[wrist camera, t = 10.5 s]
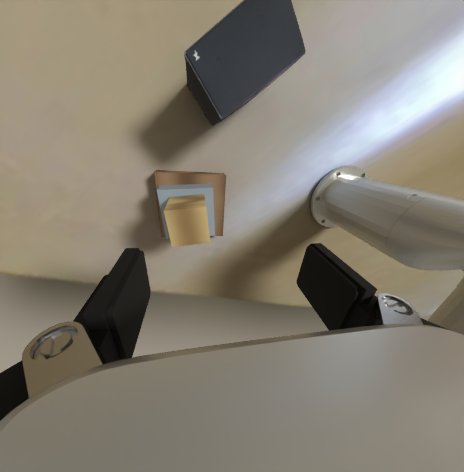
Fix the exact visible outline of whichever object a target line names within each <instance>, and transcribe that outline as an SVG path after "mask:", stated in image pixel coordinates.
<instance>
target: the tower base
mask: <svg viewBox="0 0 464 472" xmlns="http://www.w3.org/2000/svg"><path fill="white" fill-rule="evenodd" d="M154 176H155V185H156V193H157V189H158V188H159V186H160V185H187V184H212V187H213V199H214V220H215V235H214V236H223V221H224V203H225V184H226V175H225V174H224V173H206V172H186V171H165V170H156V171H155V172H154ZM157 202H158V210H159V218H160V227H161V235H162V237H166V236H165V231H164V226H163V220H162V215H161V210H160V205H159V200H158V194H157Z"/></svg>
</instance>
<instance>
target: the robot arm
mask: <svg viewBox="0 0 464 472" xmlns="http://www.w3.org/2000/svg"><path fill="white" fill-rule="evenodd" d="M311 213H312V216H313V218H314V219H315V220H316V221H317V222H318V223H319V224H321V225H323V226H325V227H329V228H334V227H341V228H342V229H344V230H346V231H347V232H349V233H351V234H352V235H354V236H356V237H358V238H359V239H361V240H363V241H364V242H366V243H368V244H369V245H371V246H373V247H374V248H376V249H378V250H379V251H381V252H383V253H385V254H386V255H388V256H389V257H391V258H393V259H395V260H396V261H398V262H400V263H402V264H404V265H406V266H409V267H412V268H415V269H420V270H456V269H460V270H463V271H464V199H461V198H457V197H452V196H447V195H442V194H437V193H433V192H428V191H423V190H419V189H414V188H409V187H405V186H400V185H395V184H391V183H386V182H382V181H377V180H372V179H370V178H369V176H368V174H367V172H365V171H364V170H363V169H361V168H359V167H355V166H343V167H339V168H337V169H335V170H333V171H331V172H330V173H328V174H327V175H326V176H325V177H324V178H323V179H322V180H321V181H320V182H319V184H318V185H317V187H316V188H315V190H314V193H313V195H312V198H311ZM297 285H298V287H299V288H300V290H301V291H302V293H303V294H304V295H305V297H306V298H307V300H308V301H309V302H310V304H311V305H312V307H313V308H314V310H315V311H316V312H317V314H318V315H319V317H320V318H321V319H322V321H323V322H324V324H325V325H326V327H327V328H328V329H329V331H323V332H314V333H307V334H299V335H290V336H282V337H274V338H267V339H259V340H251V341H244V342H236V343H229V344H222V345H214V346H207V347H199V348H192V349H185V350H178V351H171V352H165V353H158V354H152V355H144V356H139V357H135V358H132V355H133V352H134V349H135V345H136V342H137V338H138V335H139V332H140V328H141V325H142V321H143V318H144V315H145V312H146V308H147V305H148V301H149V298H150V286H149V280H148V274H147V268H146V263H145V257H144V252H143V251H140V250H139V248H126V249H125V250H124V252H123V253H122V255H121V256H120V258H119V259H118V261H117V262H116V264H115V265H114V267H113V268H112V270H111V271H110V273H109V274H108V275H106V276H104V277H103V278H102V280H101V281H100V283H99V284H98V286H97V287H96V289H95V290H94V292H93V293H92V294H91V296H90V298H89V299H88V300H87V302H86V303H85V305H84V306H83V308H82V309H81V311H80V312H79V314H78V315H77V316H76V318H75V319H74V321H73V322H64V323H60V324H57V325H55V326H52V327H50V328H48V329H47V330H45V331H43V332H41V333H40V334H39V335H38V336H36V337H35V338H34V339H33V340H32V341H31V342H30V343H29V344H28V345H27V346H26V348H25V350H24V352H23V355H22V361H21V362H19V363H17V364H15V365H13V366H12V367H10V368H8V369H7V370H5V371H3V372H2V373H0V472H464V277H463V279H462V280H461V281H460V283H459V284H458V285H457V287H456V289H455V290H454V291H453V292H452V293H451V294H450V295H449V296H448V297H447V299H446V300H445V301H444V302H443V303H442V304H441V305H440V306H439V307H438V309H437V310H436V311H435V312H434V313H433V314H432V316H431V317H430V318H429V319H428V321H426V320H424V319H422V318H420V316H419V314H418V312H417V311H416V309H415V308H414V307H413V306H412V305H411V304H410V303H408V302H407V301H405V300H403V299H402V298H400V297H397V296H395V295H392V294H387V293H382V294H379V295H378V297H376V296H375V295H374V294H375V292H376V291H377V289H376V288H375V287H374V286H373V285H371V284H370V283H369V282H368V281H366V280H365V279H364V278H363V277H362V276H360V275H359V274H358V273H357V272H355V271H354V270H353V269H352V268H351V267H349V266H348V265H347V264H346V263H344V262H343V261H342V260H341V259H340V258H338V257H337V256H336V255H335V254H333V253H332V252H331V251H330V250H328V249H327V248H326V247H325V246H324V245H322V244H321V243H315V244H310V245H309V246H308V247H307V248H306V252H305V255H304V258H303V262H302V265H301V268H300V272H299V275H298V278H297Z"/></svg>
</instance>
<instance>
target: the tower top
mask: <svg viewBox="0 0 464 472" xmlns="http://www.w3.org/2000/svg"><path fill="white" fill-rule="evenodd" d="M157 194H158V200H159V205H160V210H161V215H162V220H163V226H164V231H165V236H166V239H170V236H169V232H168V227H167V223H166V219H165V214H164V209H165V207H166V205H167V202H168V200H169V198H170V197H176V196H187V195H199V194H204V196H205V202H206V208H207V217H208V225H209V234H210V236H214V235H215V220H214V199H213V187H212V184H187V185H160V186H159V188H158V189H157Z"/></svg>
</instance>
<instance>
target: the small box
mask: <svg viewBox="0 0 464 472" xmlns="http://www.w3.org/2000/svg"><path fill="white" fill-rule="evenodd" d="M304 54H305V47H304V43H303V39H302V36H301V32H300V29H299V25H298V22H297V18H296V15H295V12H294V9H293V5H292V2H291V0H243V1H242V2H241V3H240V4H239V5H237V6H236V7H235V8H234V9H233V10H232V11H231V12H229V13H228V14H227V15H226V16H225V17H224V18H223V19H222V20H220V21H219V22H218V23H217V24H216V25H215V26H213V27H212V28H211V29H210V30H209V31H208V32H207V33H205V34H204V35H203V36H202V37H201V38H200V39H199V40H198V41H196V42H195V43H194V44H193V45H192V46H191V47H189V48H188V49H187V50H186V51H185V55H184V56H185V60H186V71H187V86H188V88H189V90H190V91H191V92H192V93H193V96H194V97H195V99H196V100H197V102H198V103H199V105H200V107H201V109H202V110H203V112H204V114H205V116H206V117H207V119H208V120H209V121H210V123H211V124H212V125H215V124H216V123H218V122H220V121H222V120H223V119H225V118H226V117H228V116H229V115H231V114H232V113H234V112H235V111H236V110H238V109H239V108H241V107H242V106H243V105H245V104H246V103H247V102H249V101H250V100H251V99H253V98H254V97H255V96H257V95H258V94H259V93H260V92H261V91H263V90H264V89H265V88H266V87H268V86H269V85H270V84H271V83H272V82H274V81H275V80H276V79H277V78H278V77H279V76H281V75H282V74H283V73H284V72H285V71H286V70H288V69H289V68H290V67H291V66H292V65H293V64H294V63H295V62H296V61H298V60H299V59H300V58H301V57H302V56H303V55H304Z"/></svg>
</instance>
